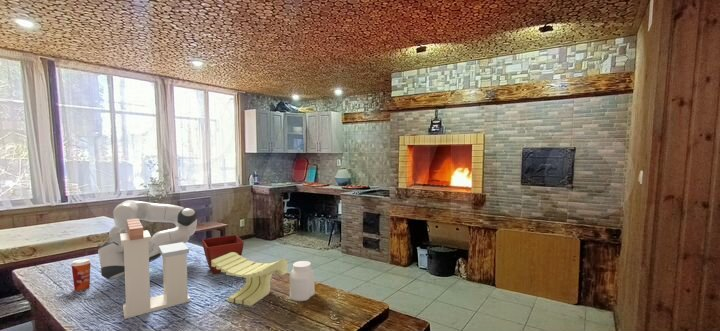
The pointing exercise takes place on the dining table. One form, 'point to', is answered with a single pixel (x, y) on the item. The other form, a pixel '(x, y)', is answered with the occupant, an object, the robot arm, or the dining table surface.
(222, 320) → the dining table surface
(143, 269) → the stand
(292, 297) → the jar
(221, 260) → the slatted curved stool
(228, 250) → the plant pot
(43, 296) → the dining table surface
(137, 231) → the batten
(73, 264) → the paper cup
